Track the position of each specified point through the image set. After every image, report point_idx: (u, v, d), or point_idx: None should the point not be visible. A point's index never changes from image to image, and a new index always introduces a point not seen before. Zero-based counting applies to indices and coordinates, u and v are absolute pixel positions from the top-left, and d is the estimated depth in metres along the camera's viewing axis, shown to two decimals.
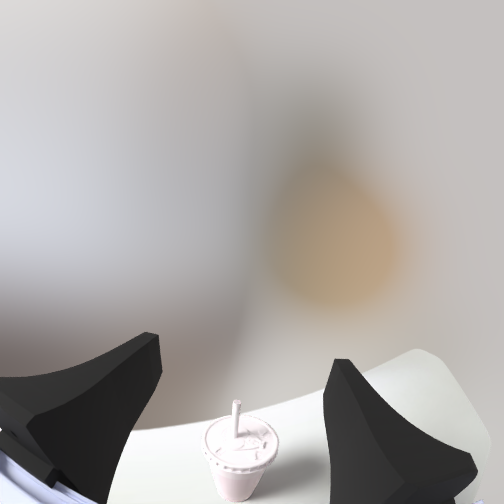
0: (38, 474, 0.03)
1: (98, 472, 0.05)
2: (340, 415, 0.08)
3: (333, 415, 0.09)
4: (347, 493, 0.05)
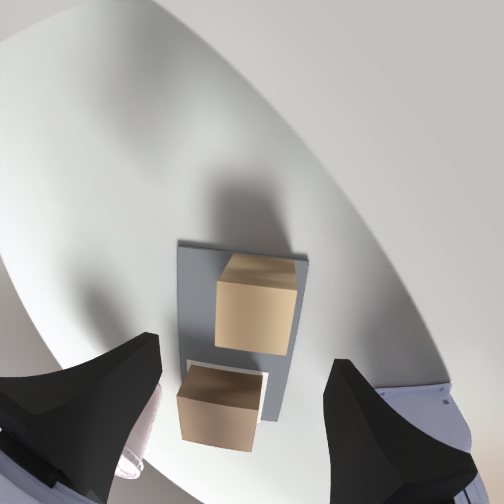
0: (38, 474, 0.03)
1: (98, 472, 0.05)
2: (340, 415, 0.08)
3: (333, 415, 0.09)
4: (347, 493, 0.05)
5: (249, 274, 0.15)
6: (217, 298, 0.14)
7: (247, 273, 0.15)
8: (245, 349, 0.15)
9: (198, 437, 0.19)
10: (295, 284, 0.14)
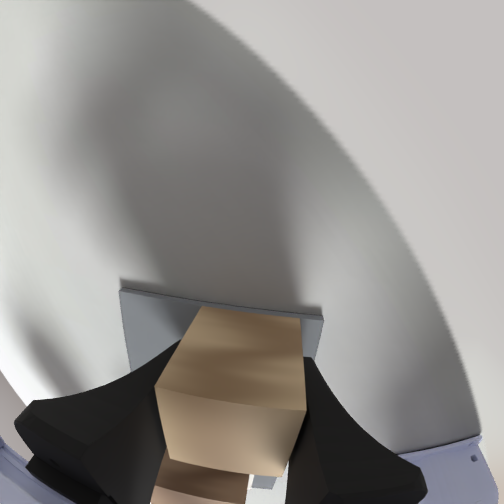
0: (38, 474, 0.03)
1: (141, 490, 0.05)
2: None
3: None
4: (295, 495, 0.05)
5: (218, 365, 0.08)
6: (160, 409, 0.07)
7: (215, 363, 0.08)
8: (217, 468, 0.07)
9: None
10: (302, 390, 0.07)
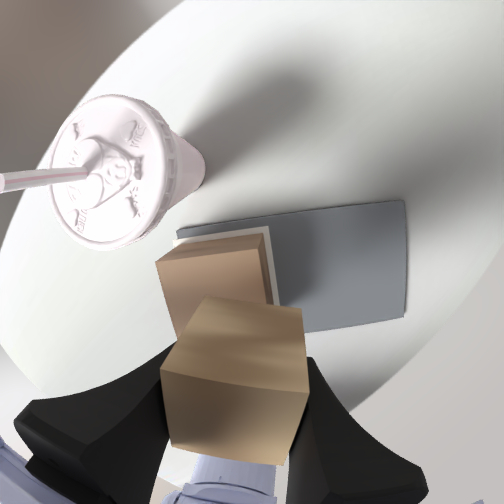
0: (38, 474, 0.03)
1: (140, 489, 0.05)
2: None
3: None
4: (295, 495, 0.05)
5: (222, 349, 0.08)
6: (164, 393, 0.07)
7: (219, 347, 0.08)
8: (218, 456, 0.08)
9: (176, 284, 0.16)
10: (305, 374, 0.07)
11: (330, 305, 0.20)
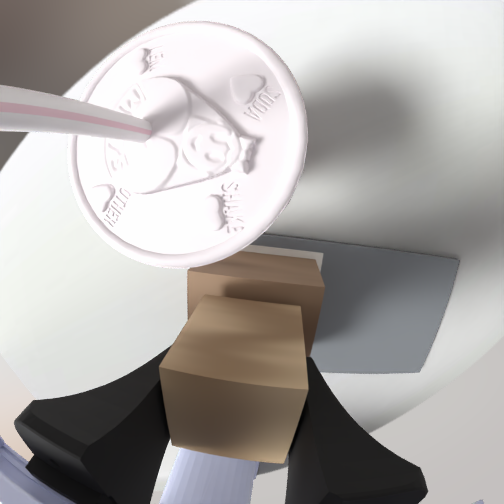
0: (38, 474, 0.03)
1: (141, 490, 0.05)
2: None
3: None
4: (295, 495, 0.05)
5: (221, 347, 0.08)
6: (163, 391, 0.07)
7: (218, 345, 0.08)
8: (219, 454, 0.08)
9: None
10: (304, 371, 0.07)
11: (358, 349, 0.17)
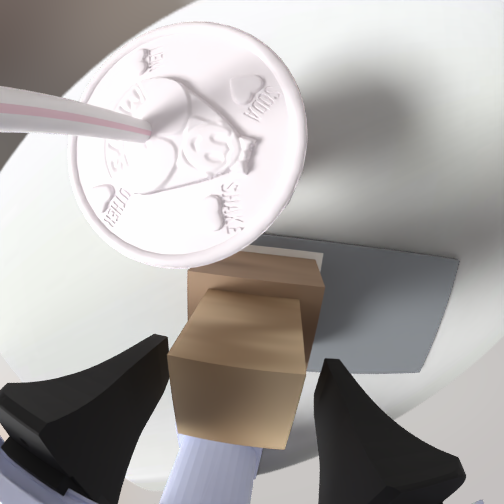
0: (38, 474, 0.03)
1: (109, 477, 0.05)
2: (329, 415, 0.08)
3: (322, 415, 0.09)
4: (334, 494, 0.05)
5: (224, 336, 0.09)
6: (171, 378, 0.08)
7: (222, 335, 0.09)
8: (223, 441, 0.08)
9: None
10: (302, 357, 0.08)
11: (358, 349, 0.17)
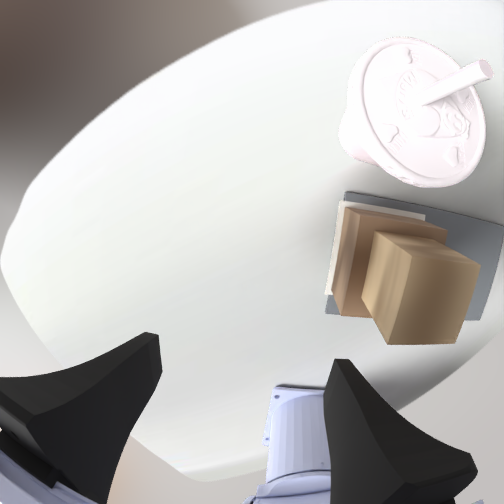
0: (38, 474, 0.03)
1: (98, 472, 0.05)
2: (340, 415, 0.08)
3: (333, 415, 0.09)
4: (347, 493, 0.05)
5: (425, 250, 0.11)
6: (408, 279, 0.10)
7: (422, 249, 0.11)
8: (420, 342, 0.10)
9: None
10: None
11: None
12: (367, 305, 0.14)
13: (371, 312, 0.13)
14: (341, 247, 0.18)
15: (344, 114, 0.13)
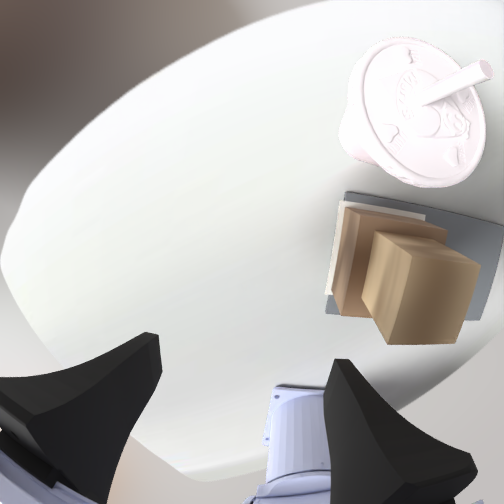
0: (38, 474, 0.03)
1: (98, 472, 0.05)
2: (340, 415, 0.08)
3: (333, 415, 0.09)
4: (347, 493, 0.05)
5: (425, 250, 0.11)
6: (408, 279, 0.10)
7: (423, 249, 0.11)
8: (420, 343, 0.10)
9: None
10: None
11: None
12: (367, 305, 0.14)
13: (371, 312, 0.13)
14: (341, 247, 0.18)
15: (344, 114, 0.13)
